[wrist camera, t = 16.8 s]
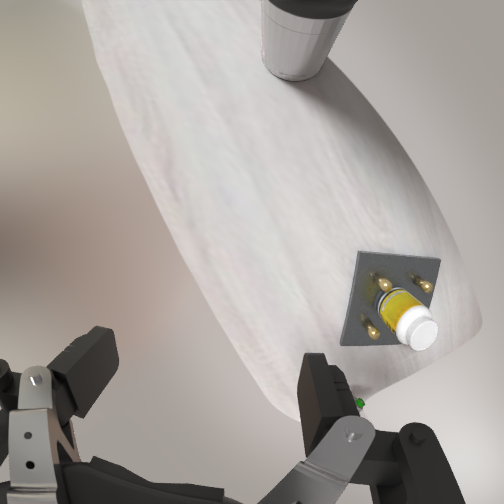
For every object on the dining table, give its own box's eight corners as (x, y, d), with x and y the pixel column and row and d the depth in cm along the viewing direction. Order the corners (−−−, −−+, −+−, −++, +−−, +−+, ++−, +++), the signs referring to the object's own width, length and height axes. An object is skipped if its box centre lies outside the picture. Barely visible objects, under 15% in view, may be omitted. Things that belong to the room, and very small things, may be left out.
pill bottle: (369, 313, 41) (397, 349, 30) (389, 280, 39) (423, 309, 29) (396, 325, 41) (425, 360, 30) (414, 294, 40) (449, 323, 29)
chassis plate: (357, 250, 39) (368, 258, 35) (437, 258, 39) (452, 265, 35) (339, 342, 43) (346, 357, 39) (415, 340, 43) (426, 352, 38)
